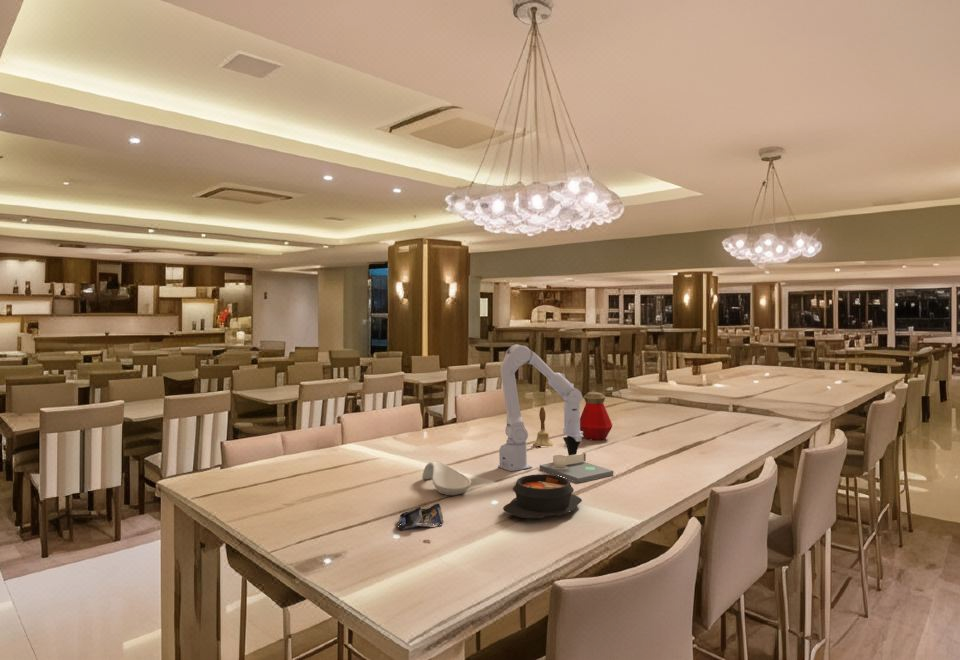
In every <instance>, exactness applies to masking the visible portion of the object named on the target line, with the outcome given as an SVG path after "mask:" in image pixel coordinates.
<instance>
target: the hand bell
mask: <svg viewBox="0 0 960 660" xmlns="http://www.w3.org/2000/svg"><path fill="white" fill-rule="evenodd" d="M538 413H539V419H540V431H537V436H536V440H535V441H534V442H533V443H532V445H533V446H534V445H535V446H534V447H536V446H551V447H553V446H554V445H553V442H552V441H551V439H550V435H549V431H547V430H546V426H545V421H546V415H547V414H546V410H545V408H544V407H543V406H542V407H540V410H539V412H538ZM552 445H553V446H552Z"/></svg>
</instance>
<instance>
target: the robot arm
mask: <svg viewBox="0 0 960 660" xmlns="http://www.w3.org/2000/svg"><path fill="white" fill-rule="evenodd" d="M525 364H528V365H532V366H533V367H534V368H535V369H536V370H538V371H539V372H540V373H541V374H542V375H543V376H545V378H547V381H548V383H547V384H548V385H549V386H550V387H551V388H552V389H554V391H555V392H556V393H558V394H559V396H561V398H562V400H563V401H564V402H563V404H564V405H563V406H564V407H563V412H564V413H563V415H564V416H563V417H564V418H563V424H564V425H563V429H562V433H563V435H565V436H564V437H562V439H563V441H564V443H565V446H566V450H567V453H568V455H567V456H569V455H574V454H578V453H577V452H578V449H579V446H580V444H581V442H583V441H582V439H583V432H582V431H580V417H581V402H582V401H583V398H584V395H582V392H581V391H580V389H578V388H576V387H574V386H575V384H574V383H573V382H570V381H569V380H568V379H567V378H566V374H564V373H561V372H554V370H552V368H550V367H549V365H548V364H547V363H546V362H544V360H543V359H542V358H541V357H540V356H539V355H538V354H536V353H535V352H534V351H533V350H531V349H530V348H529V347H528V346H526V345H521V344H517V343H515V344H513V345H511V346H510V347H509V348H508V349H507V350H506V351H505V354H504V358H503V360H502V363H501V366H500V369H499V371H500V372H499V373H500V377H501V384H502V389H503V397H504V403H505V409H506V416H507V417H506V420H505V421H506V427H505V435H506V436H507V437H508V438H506V443H504V444H502V445H501V446H500V447H499V451H498V452H499V454H498V455H499V465H498V468H501V469H504V470H506V471H509V472H515V471H520V470H527V469H530V468H533V466H532V465H529V464H528V463H527V460H528V459H527V456H528V455H527V448H528V447H527V446H528V443H527V440H528V437H529V433H528V430H527V428H526V427H525V424H524V420H523V418H522V413H521V408H520V406H521V405H520V401H519V394H518V393H519V392H518V388H517V379H516V372H517V370H518V369H519V368H521V366H523V365H525Z"/></svg>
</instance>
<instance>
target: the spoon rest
mask: <svg viewBox="0 0 960 660" xmlns="http://www.w3.org/2000/svg"><path fill="white" fill-rule="evenodd" d="M430 479H432V484H433V486H434V488H435V490H437V492H439V493H441V494H442V495H444V494H445V496H458V495H461V494H463V493H465V492H467V491H468V490H469V488H470V487H471V485H472V481H471V479H469V478H468V477H467V476H466V475H464V474H463V473H462V472H461V473H460V472H459V471H457V470H456V469H453V468H452V467H450V466H449V465H447V464H445V463H444V462H442V461H434V462H429V463H427V464H426V465H425V467H424V469H423V473H422V480H430Z"/></svg>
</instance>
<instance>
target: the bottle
mask: <svg viewBox="0 0 960 660" xmlns="http://www.w3.org/2000/svg"><path fill="white" fill-rule="evenodd" d="M583 399H584V402H585V404H584V408H583V410H582V412H581V414H580V431H582V432H583V434H582V437H583V438H584V439H585V438H587V439H586V440H589V439H592V440H591V441H604V439H605V440H606V439H607V437H608V435H609V433H610V432H611V431H612V428H613V423H612V420H611V418H610V416H609V415H610V414H609V413H608V411H607V409H606V406H605V404H604V402H605V399H606V396H605V395H604V393H602V392H597V391H595V392H594V391H593V392H592V391H591V392H587V393H586V394H584V395H583Z"/></svg>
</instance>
